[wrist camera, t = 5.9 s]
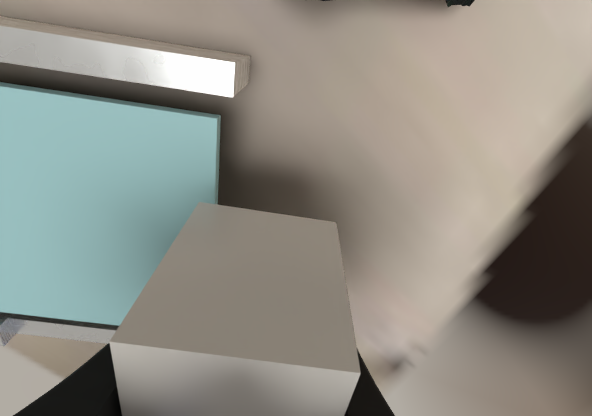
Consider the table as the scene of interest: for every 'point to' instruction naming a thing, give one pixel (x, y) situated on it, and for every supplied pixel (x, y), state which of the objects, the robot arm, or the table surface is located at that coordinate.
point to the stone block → (241, 322)
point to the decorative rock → (454, 2)
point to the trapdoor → (94, 197)
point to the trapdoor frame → (121, 66)
